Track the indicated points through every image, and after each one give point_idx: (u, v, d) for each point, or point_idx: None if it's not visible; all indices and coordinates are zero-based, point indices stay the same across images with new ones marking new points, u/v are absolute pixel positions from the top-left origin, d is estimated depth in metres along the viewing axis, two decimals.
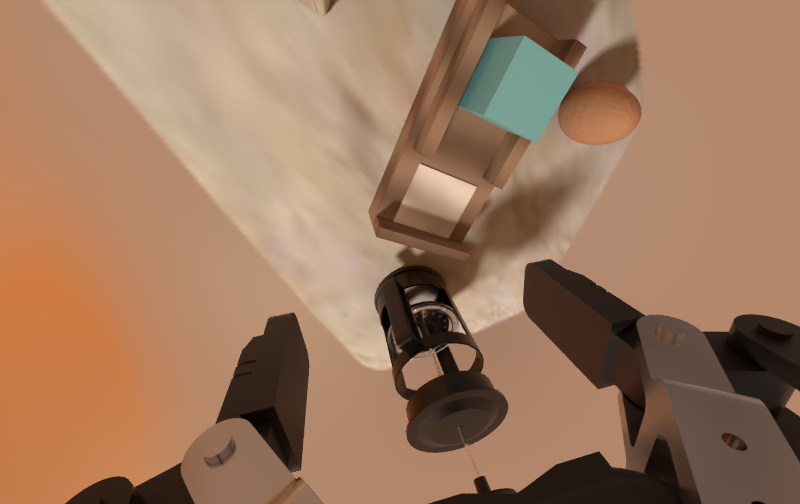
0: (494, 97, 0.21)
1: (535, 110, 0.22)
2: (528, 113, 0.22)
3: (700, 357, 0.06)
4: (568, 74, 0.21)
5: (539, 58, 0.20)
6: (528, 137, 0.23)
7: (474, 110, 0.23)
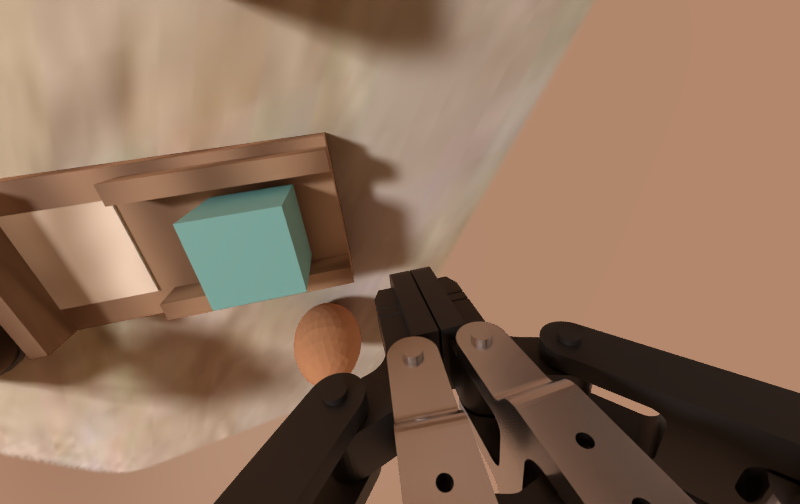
0: (201, 222, 0.15)
1: (238, 280, 0.16)
2: (228, 274, 0.16)
3: (490, 362, 0.07)
4: (296, 283, 0.17)
5: (279, 240, 0.16)
6: (208, 297, 0.17)
7: (189, 213, 0.16)
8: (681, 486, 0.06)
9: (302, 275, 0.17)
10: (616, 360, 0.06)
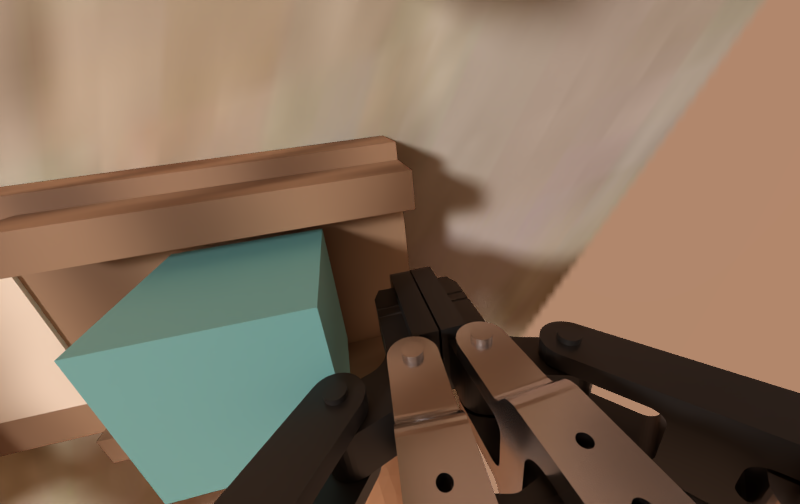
0: (128, 351, 0.06)
1: (218, 450, 0.08)
2: (195, 443, 0.08)
3: (490, 361, 0.07)
4: None
5: (309, 372, 0.07)
6: (154, 484, 0.08)
7: (112, 310, 0.08)
8: (681, 486, 0.06)
9: None
10: (616, 360, 0.06)
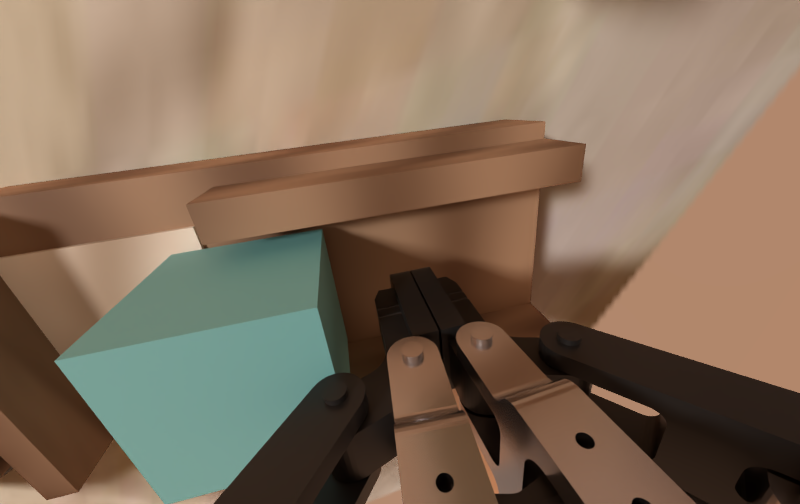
0: (128, 351, 0.06)
1: (218, 450, 0.08)
2: (196, 443, 0.08)
3: (489, 362, 0.07)
4: None
5: (309, 372, 0.07)
6: (154, 484, 0.08)
7: (112, 310, 0.08)
8: (681, 486, 0.06)
9: None
10: (616, 360, 0.06)
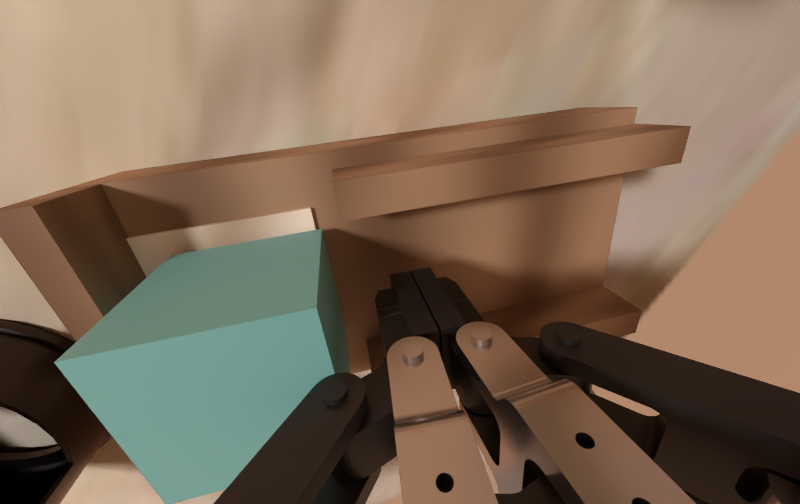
0: (128, 352, 0.06)
1: (218, 450, 0.08)
2: (196, 443, 0.08)
3: (489, 362, 0.07)
4: None
5: (308, 373, 0.07)
6: (155, 485, 0.08)
7: (112, 311, 0.08)
8: (681, 486, 0.06)
9: None
10: (616, 360, 0.06)
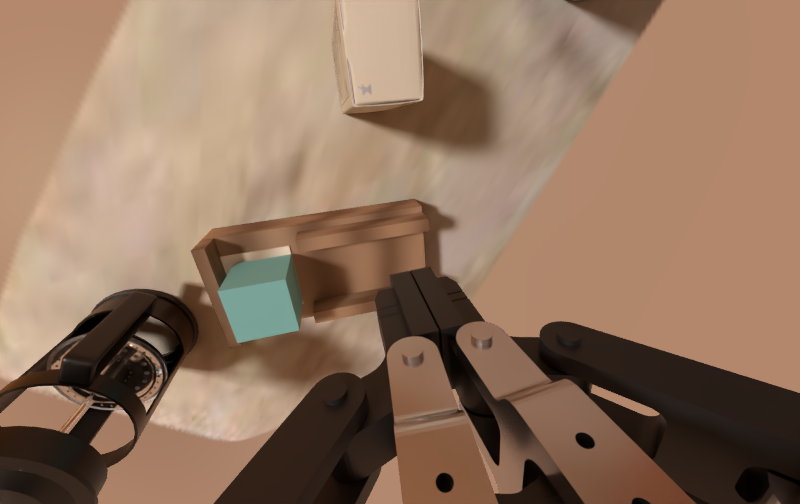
0: (235, 289, 0.24)
1: (255, 323, 0.26)
2: (249, 320, 0.25)
3: (490, 362, 0.07)
4: (292, 325, 0.26)
5: (283, 299, 0.25)
6: (235, 334, 0.26)
7: (224, 280, 0.25)
8: (681, 486, 0.06)
9: (296, 320, 0.26)
10: (616, 360, 0.06)
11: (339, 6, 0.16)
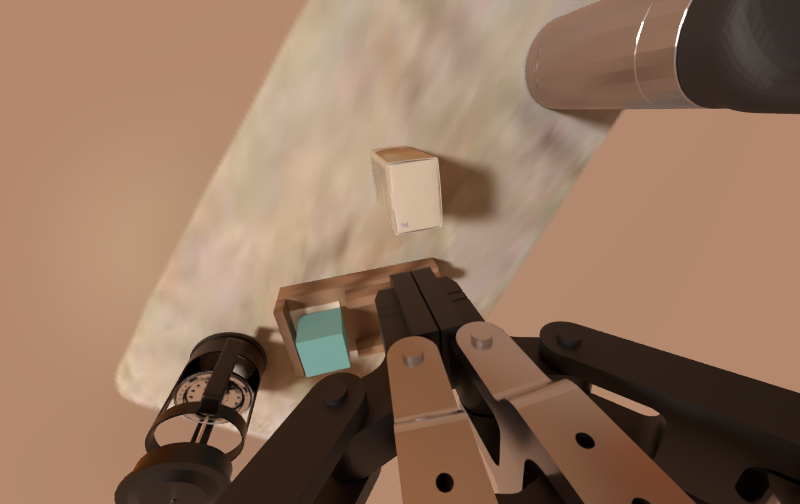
0: (307, 341, 0.34)
1: (319, 364, 0.35)
2: (315, 361, 0.35)
3: (490, 362, 0.07)
4: (346, 363, 0.36)
5: (340, 346, 0.35)
6: (305, 371, 0.35)
7: (297, 333, 0.35)
8: (681, 486, 0.06)
9: (348, 359, 0.36)
10: (616, 360, 0.06)
11: (388, 180, 0.25)
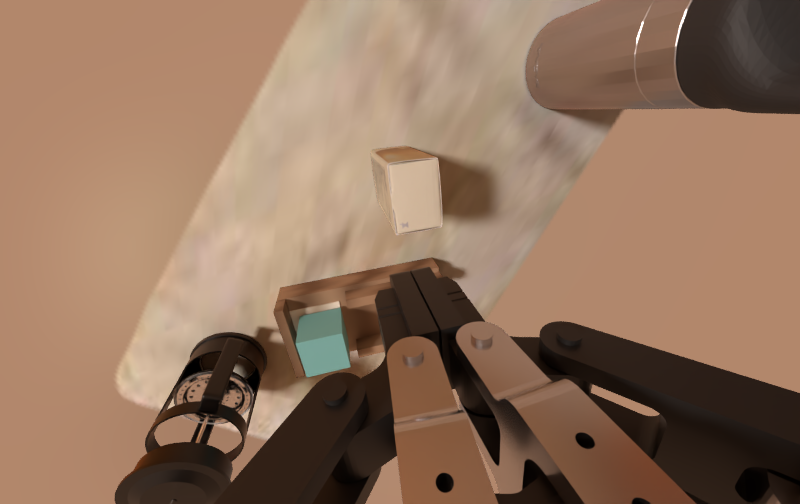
0: (307, 342, 0.34)
1: (319, 364, 0.35)
2: (315, 361, 0.35)
3: (490, 362, 0.07)
4: (346, 363, 0.36)
5: (340, 346, 0.35)
6: (305, 371, 0.35)
7: (297, 333, 0.35)
8: (681, 486, 0.06)
9: (348, 359, 0.36)
10: (616, 360, 0.06)
11: (388, 180, 0.25)
